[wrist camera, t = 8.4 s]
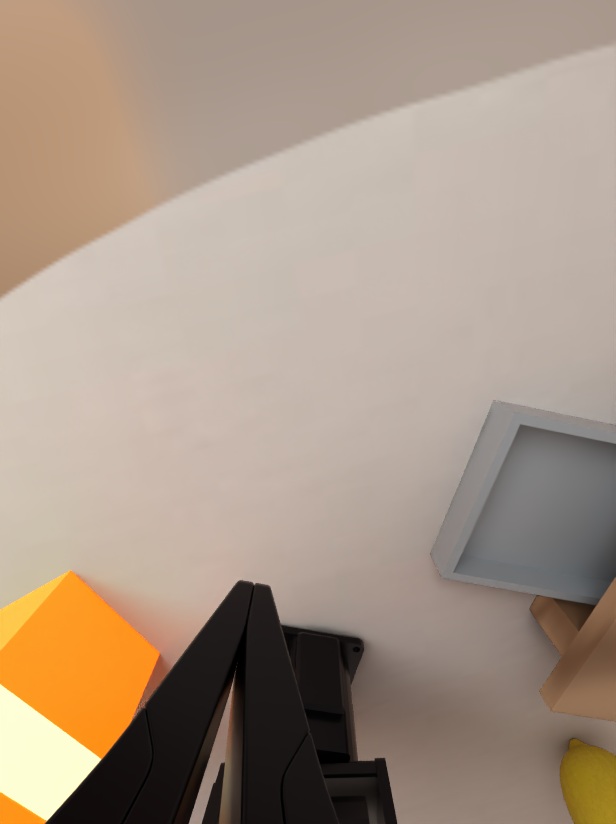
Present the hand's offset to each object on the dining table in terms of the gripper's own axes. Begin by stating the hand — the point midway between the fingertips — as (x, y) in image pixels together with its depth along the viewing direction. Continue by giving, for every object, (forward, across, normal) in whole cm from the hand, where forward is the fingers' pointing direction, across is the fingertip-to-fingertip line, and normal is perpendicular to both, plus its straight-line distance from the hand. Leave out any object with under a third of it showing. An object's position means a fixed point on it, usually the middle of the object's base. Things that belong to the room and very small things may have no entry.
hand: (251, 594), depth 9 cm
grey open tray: (+10, -17, 0) cm, 20 cm away
